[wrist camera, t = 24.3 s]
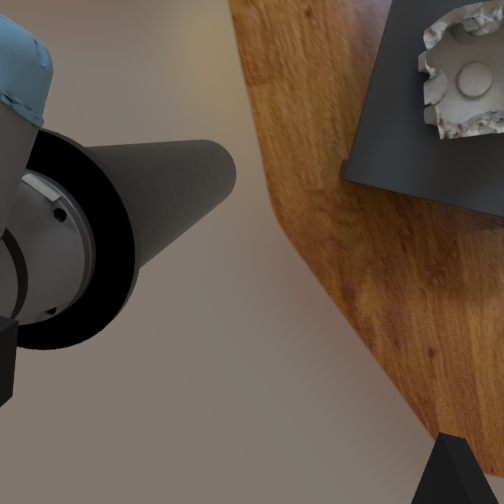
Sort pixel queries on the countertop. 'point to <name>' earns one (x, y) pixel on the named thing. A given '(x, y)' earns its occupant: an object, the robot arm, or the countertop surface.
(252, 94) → the countertop surface
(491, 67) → the egg carton
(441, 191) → the shelf
